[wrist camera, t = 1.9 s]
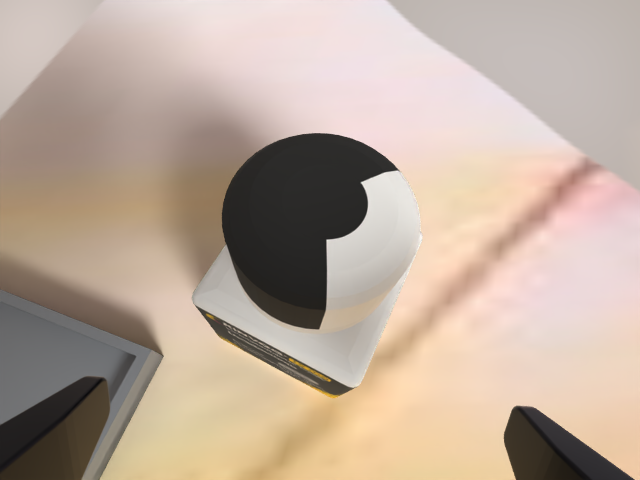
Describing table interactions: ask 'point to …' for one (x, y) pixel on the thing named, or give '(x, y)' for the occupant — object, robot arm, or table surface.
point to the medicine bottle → (312, 258)
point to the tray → (69, 367)
